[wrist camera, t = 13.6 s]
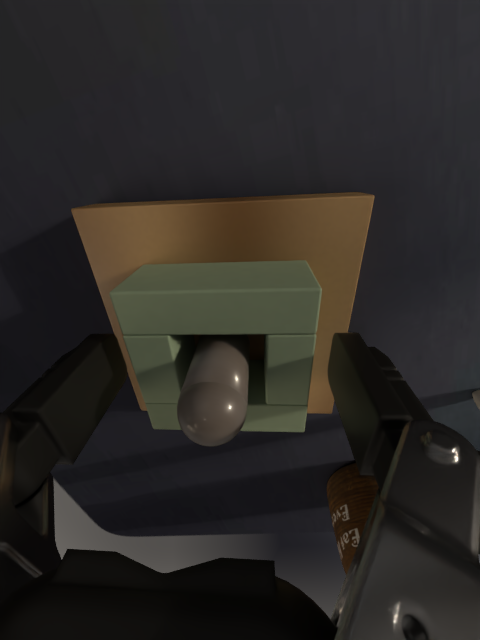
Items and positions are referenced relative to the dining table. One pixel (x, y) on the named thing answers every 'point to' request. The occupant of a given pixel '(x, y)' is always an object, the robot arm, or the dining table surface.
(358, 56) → the dining table surface
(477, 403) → the pen
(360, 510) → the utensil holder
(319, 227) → the base pad
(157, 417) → the green square ring block
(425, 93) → the dining table surface
